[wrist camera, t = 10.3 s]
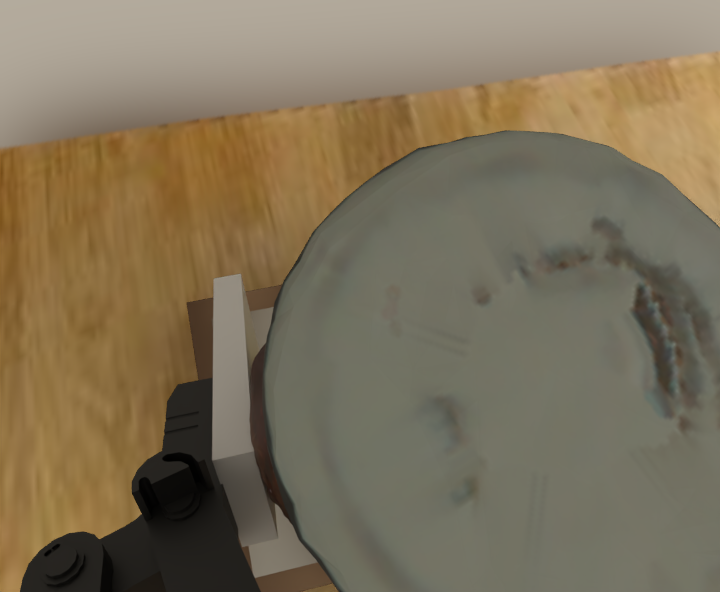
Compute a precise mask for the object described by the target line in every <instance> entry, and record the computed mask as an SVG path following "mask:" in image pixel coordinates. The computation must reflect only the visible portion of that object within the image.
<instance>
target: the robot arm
mask: <svg viewBox="0 0 720 592" xmlns="http://www.w3.org/2000/svg"><path fill="white" fill-rule="evenodd" d="M258 352H259V347H258V343H257V339H256V335H255V331H254V326H253V322H252V318H251V314H250V310H249V305H248V301H247V297H246V293H245V289H244V284H243V280H242V276H241V274H236V275H231V276H225V277H220V278H214V299H213V378H208V379H203V380H198V381H193V382H188V383H183V384H178V385H177V387H176V388H175V390H174V392H173V393H172V395H171V396H170V398H169V400H168V401H167V411H166V422H165V430H164V433H165V435H164V439H163V449H162V451H161V452H159V453H158V454H156V455H154V456H153V457H151V458H149V459H148V460H147V461H146V462H145V463H144V464H143V465H142V466H141V467H140V468H139V469H138V470H137V472H136V474H135V476H134V478H133V481H132V495H133V497H134V499H135V501H136V503H137V505H138V507H139V509H140V511H141V513H142V515H140V516H139V517H138V518H137V519H136V520H134V521H133V522H131V523H130V524H128V525H126V526H125V527H123V528H121V529H119V530H117V531H115V532H113V533H111V534H109V535H107V536H105V537H103V538H101V539H98V538H97V537H96V536H95V535H94V534H90V533H87V532H76V533H69V534H66V535H64V536H62V537H60V538H57V539H55V540H53V541H52V542H51V543H49V544H48V545H47V546H45V547H44V548H43V549H41V550H40V551H39V552H38V554H37V555H36V556H35V557H34V558H33V560H32V561H31V562H30V563H29V565H28V567H27V570H26V572H25V574H24V577H23V580H22V585H21V589H20V592H261V591H260V589H259V586H258V584H257V582H256V580H255V577H254V575H253V573H252V571H251V568H250V566H249V564H248V562H247V559H246V557H245V555H244V553H243V550H242V548H241V546H240V544H239V540H238V536H239V539H240V542H241V545H242V547H245V546H249V545H254V544H258V543H262V542H266V541H270V540H274V539H278V531H277V522H276V512H275V503H273V502H272V501H271V499H270V497H269V494H268V490H267V486H266V484H265V483H264V481H263V479H262V477H261V473H260V470H259V467H258V465H257V463H256V459H255V456H254V448H253V446H252V442H251V435H250V421H249V418H250V396H251V367H252V363H253V361H254V358H255V357H256V355H257V354H258Z"/></svg>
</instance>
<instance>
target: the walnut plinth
mask: <svg viewBox="0 0 720 592" xmlns="http://www.w3.org/2000/svg"><path fill="white" fill-rule="evenodd" d="M281 286H282V285H279V286H274V287H268V288H263V289H257V290H252V291H247V292H245V293H246V297H247V301H248V305H249V310H250V314H251V318H252V322H253V326H254V331H255V335H256V339H257V343H258V347H259V351H260V350H261V348H262V347H263V345H264V344H265V343H266V340H267V334H268V331H269V328H270V324H271V319H272V313H273V308H274V302H275V300H276V298H277V295H278V293H279V291H280V289H281ZM213 299H214V298H209V299H203V300H198V301H193V302H187V308H188V314H189V321H190V327H191V334H192V340H193V347H194V353H195V360H196V366H197V372H198V379H199V380H203V379H208V378H213ZM275 512H276V522H277V531H278V539H274V540H270V541H266V542H262V543H258V544H254V545H249V546H245V547H242V545H241V542H240V539H239V536H238V540H239V544H240V546H241V548H242V550H243V553H244V555H245V557H246V559H247V562H248V564H249V566H250V568H251V571H252V573H253V575H254V577H255V580H256V582H257V584H258V586H259V589H260V591H261V592H301V591H305V590H308V589H312V588H316V587H320V586H324V585H328V584H332V581H331V580H330V579H329V577H328V576H327V574H326V573H325V572H324V570H323V569H322V568H321V566H320V565H319V563H318V562H317V561H316V559H315V558H314V557H313V556H312V555H311V553H310V552H309V551H308V550H307V549H306V548H305V547H304V545H303V544H302V543H301V542H300V541H299V539H298V537H297V534H296V532H295V530H294V527H293V525H292V524H291V523H290V522H289V520H288V519H287V518H286V517H285V516H284V515H283V512H282V510H281V509H280V508H279V506H278V505H276V504H275Z"/></svg>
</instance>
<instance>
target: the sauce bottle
mask: <svg viewBox="0 0 720 592" xmlns="http://www.w3.org/2000/svg"><path fill="white" fill-rule="evenodd" d="M249 421H250V435H251V442H252V446H253V448H254V456H255V459H256V463H257V465H258V467H259V470H260V473H261V477H262V479H263V481H264V483H265V484H266V486H267V490H268V494H269V497H270V499H271V501H272V502H273V503H275V504H276V505H278V506H279V508H280V509H281V510H282V512H283V515H284V516H285V517H286V518H287V519H288V520H289V522H290V523H291V524H292V525H293V527H294V530H295V532H296V534H297V537H298V539H299V541H300V542H301V543H302V544H303V545H304V547H305V548H306V549H307V550H308V551H309V552H310V553H311V555H312V556H313V557H314V558H315V559H316V561H317V562H318V563H319V565H320V566H321V568H322V569H323V570H324V572H325V573H326V574H327V576H328V577H329V579H330V580H331V581H332V583H333V584H334V585H335V587H336V588H337V590H338V591H339V592H720V228H719V226H718V225H717V224H716V223H715V222H714V221H713V220H711V219H710V218H709V217H708V216H707V215H706V214H705V213H704V212H702V211H701V210H700V209H699V208H698V207H697V206H696V205H695V204H693V203H692V202H691V201H690V200H689V199H688V198H687V197H686V196H684V195H683V194H682V193H681V192H680V191H679V190H678V189H677V188H676V187H675V186H674V185H673V184H672V183H671V182H670V181H669V180H667V179H666V178H665V177H664V176H663V175H662V174H660V173H658V172H655V171H653V170H651V169H649V168H647V167H645V166H643V165H640V164H638V163H636V162H634V161H632V160H630V159H629V158H627V157H626V156H624V155H623V154H621V153H620V152H618V151H617V150H615V149H614V148H612V147H609V146H606V145H602V144H599V143H595V142H591V141H587V140H583V139H579V138H575V137H571V136H567V135H564V134H557V133H547V132H530V131H501V132H496V133H492V134H487V135H480V136H473V137H466V138H462V139H459V140H456V141H452V142H449V143H444V144H438V145H433V146H427V147H422V148H418V149H416V150H415V151H413V152H411V153H410V154H408V155H406V156H405V157H403V158H401V159H400V160H398V161H396V162H394V163H393V164H391V165H389V166H387V167H386V168H384V169H383V170H381V171H380V172H379V173H377V174H376V175H375V176H373V177H372V178H370V179H369V180H368V181H366V182H365V183H364V184H362V185H361V186H360V187H359V188H358V189H356V190H355V191H354V192H353V193H351V194H350V195H349V196H348V197H347V198H345V199H344V200H343V201H342V202H341V203H340V204H339V205H338V206H337V207H336V208H335V209H334V210H333V211H332V212H331V213H330V214H329V215H328V216H327V217H326V219H325V220H324V221H323V222H322V223H321V224H320V225H319V226H318V227H317V228H316V229H315V230H314V232H313V233H312V235H311V237H310V238H309V240H308V242H307V244H306V245H305V247H304V249H303V251H302V252H301V254H300V256H299V257H298V259H297V261H296V263H295V264H294V266H293V267H292V269H291V271H290V272H289V274H288V275H287V277H286V278H285V280H284V282H283V284H282V286H281V289H280V291H279V293H278V295H277V298H276V300H275V302H274V308H273V313H272V319H271V324H270V328H269V331H268V334H267V340H266V343H265V344H264V345H263V347H262V348H261V350H260V351H259V352H258V354H257V355H256V357H255V358H254V361H253V363H252V367H251V396H250V418H249Z"/></svg>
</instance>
